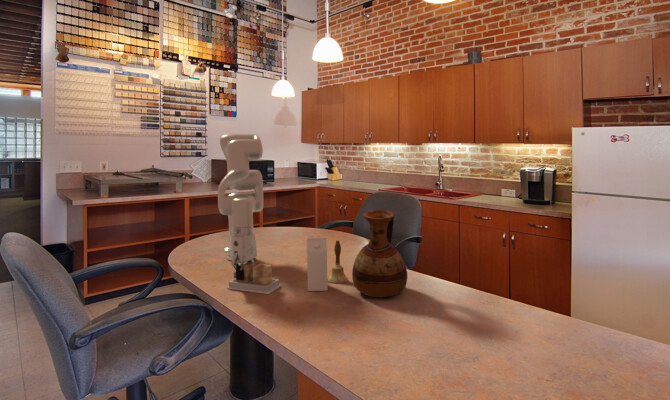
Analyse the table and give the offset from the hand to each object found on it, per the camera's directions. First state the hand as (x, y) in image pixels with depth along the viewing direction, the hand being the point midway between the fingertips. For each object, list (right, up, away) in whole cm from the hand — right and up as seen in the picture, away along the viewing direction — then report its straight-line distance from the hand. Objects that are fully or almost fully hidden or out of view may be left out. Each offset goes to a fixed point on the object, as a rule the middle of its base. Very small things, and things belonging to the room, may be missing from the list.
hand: (245, 276), depth 150 cm
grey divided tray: (+4, -4, -1) cm, 5 cm away
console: (-3, -3, +9) cm, 10 cm away
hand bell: (+35, -3, +6) cm, 36 cm away
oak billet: (0, -3, 0) cm, 3 cm away
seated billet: (+7, -4, -2) cm, 9 cm away
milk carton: (+28, -4, -3) cm, 28 cm away
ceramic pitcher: (+50, -4, -7) cm, 51 cm away
